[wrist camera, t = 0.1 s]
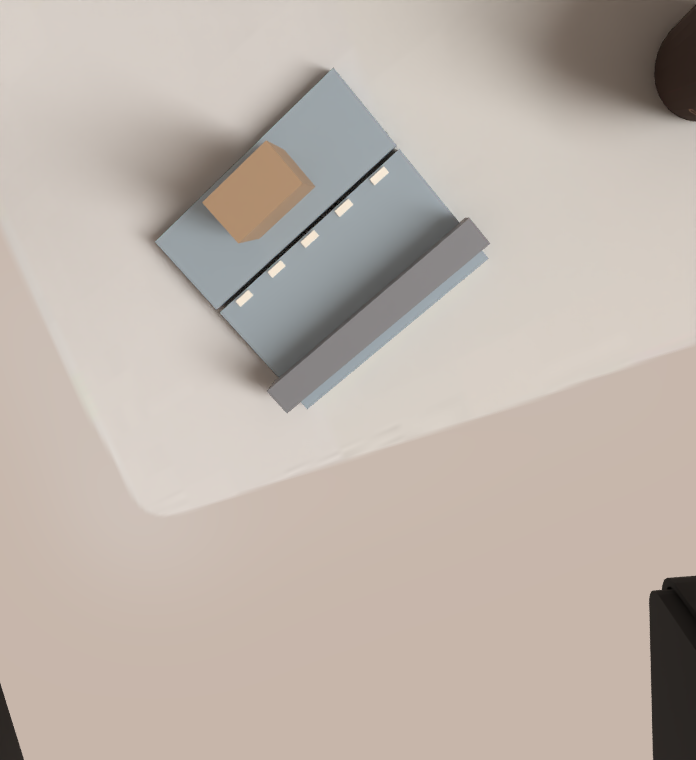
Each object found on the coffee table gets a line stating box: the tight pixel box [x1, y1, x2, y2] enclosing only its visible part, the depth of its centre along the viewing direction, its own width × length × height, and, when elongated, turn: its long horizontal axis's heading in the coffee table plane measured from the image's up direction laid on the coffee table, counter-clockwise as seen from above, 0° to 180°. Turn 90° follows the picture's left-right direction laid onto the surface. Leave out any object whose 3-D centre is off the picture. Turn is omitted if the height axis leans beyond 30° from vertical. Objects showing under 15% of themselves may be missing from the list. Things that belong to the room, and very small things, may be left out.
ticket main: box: [220, 149, 490, 413], centre depth 43 cm, size 9×17×4 cm, turn 131°
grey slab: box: [155, 68, 396, 310], centre depth 40 cm, size 6×16×7 cm, turn 131°
